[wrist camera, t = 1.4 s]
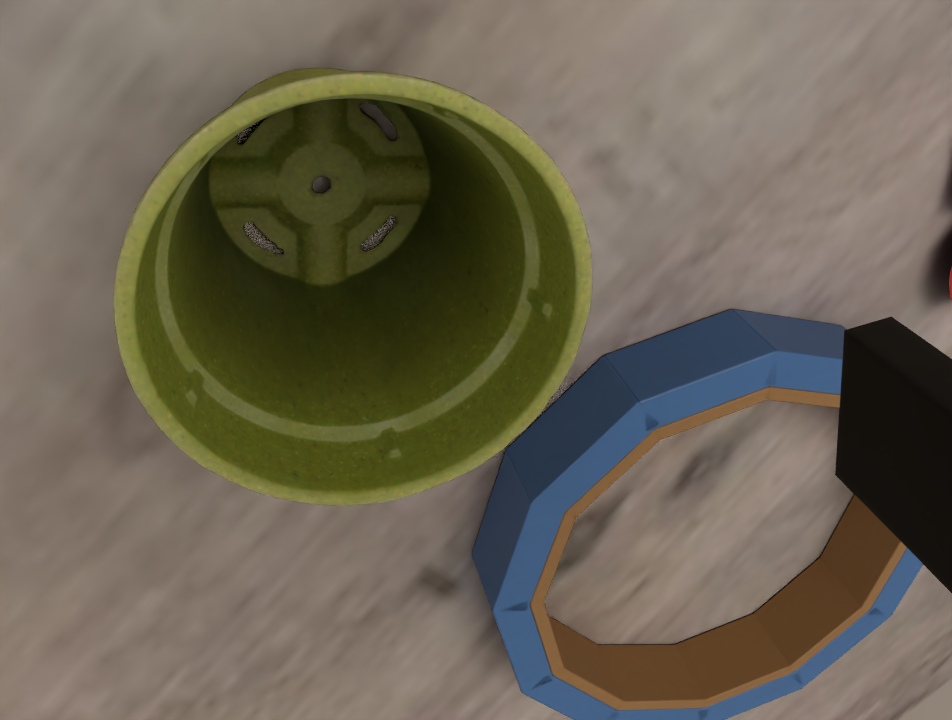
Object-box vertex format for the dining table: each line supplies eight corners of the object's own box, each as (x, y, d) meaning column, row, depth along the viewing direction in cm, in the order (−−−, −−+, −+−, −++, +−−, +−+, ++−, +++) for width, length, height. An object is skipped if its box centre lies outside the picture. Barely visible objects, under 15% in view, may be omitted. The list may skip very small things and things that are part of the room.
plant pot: (303, -91, 22) (352, -48, 15) (549, 162, 27) (677, 289, 19) (65, 190, 24) (3, 352, 16) (336, 380, 28) (380, 569, 21)
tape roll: (746, 216, 29) (797, 252, 27) (966, 468, 38) (1019, 513, 36) (381, 568, 33) (396, 630, 30) (661, 723, 42) (689, 780, 39)
